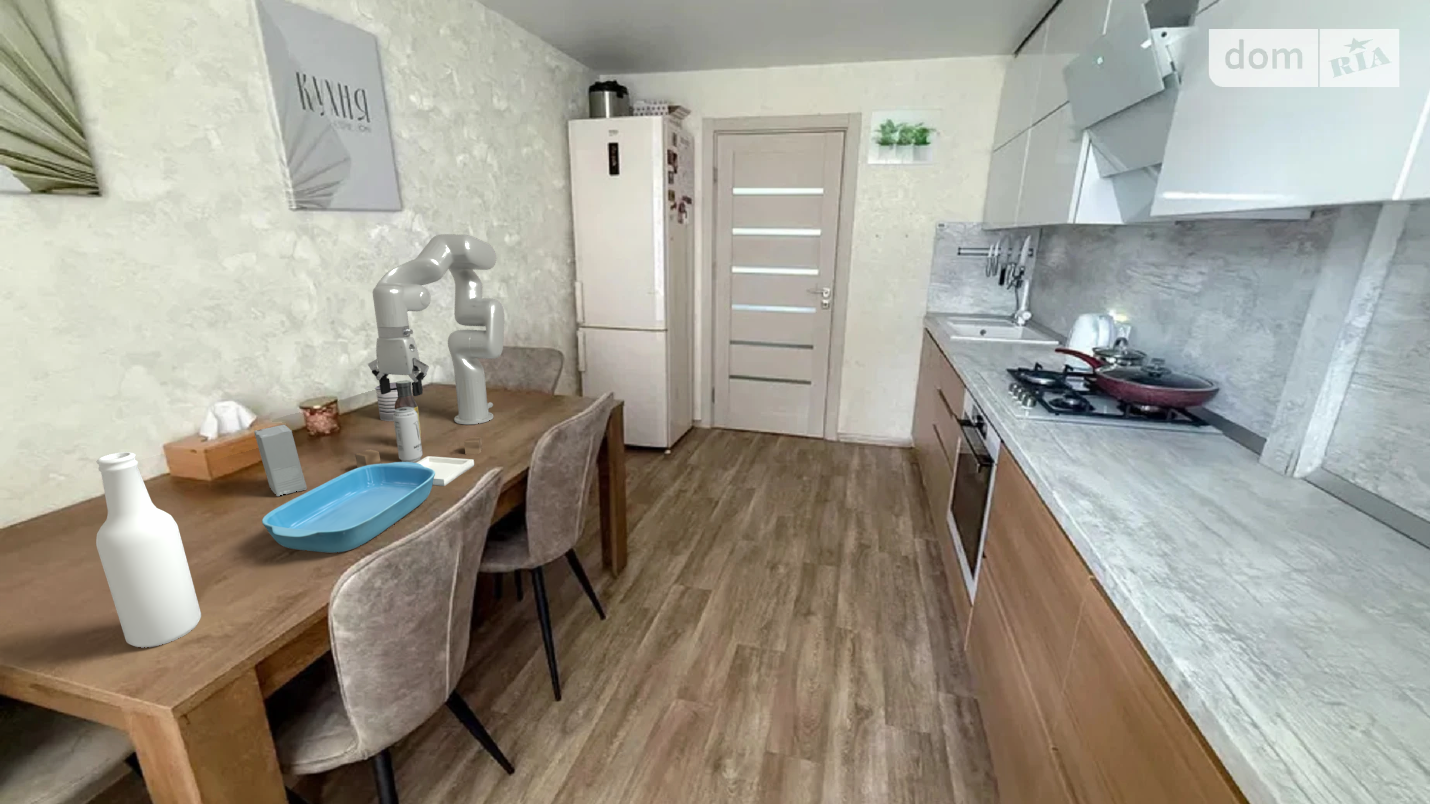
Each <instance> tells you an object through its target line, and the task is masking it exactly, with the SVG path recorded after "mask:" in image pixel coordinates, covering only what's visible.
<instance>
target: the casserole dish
mask: <svg viewBox="0 0 1430 804" xmlns="http://www.w3.org/2000/svg"><path fill="white" fill-rule="evenodd" d="M434 476H435V471H434V470H433V469H430V468H427V467H424V466H423V465H421V464H419V463H416V462H402V461H394V462H387V463H381V464H372V465H367V466H363V467H359V468H357V467H356V468H354V469H351V470H349V471H346V472H345V473H342V474H340V475H339V476H337V477H334V478H332V479H330V480H328V481H326V482H325V483H323V484H320V485H319V486H317V487H314V488H312V489H311V490H309V491H306V492H305V493H303V494H301V495H299V496H297V497H295V498H292V499H291V500H289V501H287V502H285V503H283V504H282V505H281V504H280V506H277V507H276V508H274V509H272V510H271V511H269V512H267V514H266V515H264V516H263V518H262V520H261V523H262V525H263V526H264V527H265V529H266V530H267V532H268V533H269V535H271V537H272V538H273V539H274V541H276V543H278V545H280V546H282V547H284V548H287V549H292V550H299V551H305V550H307V552H318V553H328V554H329V553H331V554H332V553H333V554H334V553H335V554H337V552H338V553H343V552H347V551H351V550H353V549H356V548H359V547H360V545H361V546H362V545H364V544H366V543H368V542H369V541H371V540H372V539H374V538H376V537H377V536H378V535H380V534H381V533H383V532H384V531H385V530H387V529H389V528H390V527H391V526H393V525H394V524H395V523H397V522H399V521H400V520H401V519H403V518H404V517H406V516H407V515H408V514H410V513H411V512H412V511H414V509H416V508H418V507H419V506H420V505H421V504H422V503H424V501H426V499H428V497H429V496H430V493H431V492H432V488H433V485H432V484H433V479H434Z"/></svg>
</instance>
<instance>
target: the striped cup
mask: <svg viewBox="0 0 1430 804" xmlns="http://www.w3.org/2000/svg"><path fill="white" fill-rule="evenodd" d="M396 382H397V381H396ZM396 382H395V381H394V382H390V388H391V392H389V393H386V394H381V390H380V384H379V385H376V386H375V388H374V389H375V392H376V399H377V404H378V406H377V407H378V412H379V419H380V421H386V422H394V419H393V416H394V413H395V402H396V400H397V398H398V395H397V394H398V393H397V387H396ZM411 393H412V396H413V390H412V386H411ZM413 397H414V396H413Z"/></svg>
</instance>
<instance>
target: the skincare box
mask: <svg viewBox="0 0 1430 804" xmlns="http://www.w3.org/2000/svg"><path fill="white" fill-rule="evenodd" d="M253 432H254V436H255V439H256V444H257V447H258V451H259V454H260V458H261V461H262V464H263V468H264V472H265V474H266V475H265V476H266V478H267V482H268V486H269V489H270V488H271V489H270V490H271V491H272V493H274V495H275V494H276V495H275V496H276V497H281V496H280V495H282V496H284V495H283V494H286V495H289V494H292V493H297V492H301V491H305V490H307V489H308V487H307V483H306V479H305V477H304V473H303V469H302V465H301V462H300V458H299V454H298V450H297V447H296V442H295V439H294V436H293V435H294V434H293V431H292V429H291V428H289V427H288V426H287V425H286V424H281V425H276V426H272V427H271V426H270V427H267V428H266V427H265V428H262V429H257V430H256V429H255V430H254V431H253ZM296 491H297V492H296Z"/></svg>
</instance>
